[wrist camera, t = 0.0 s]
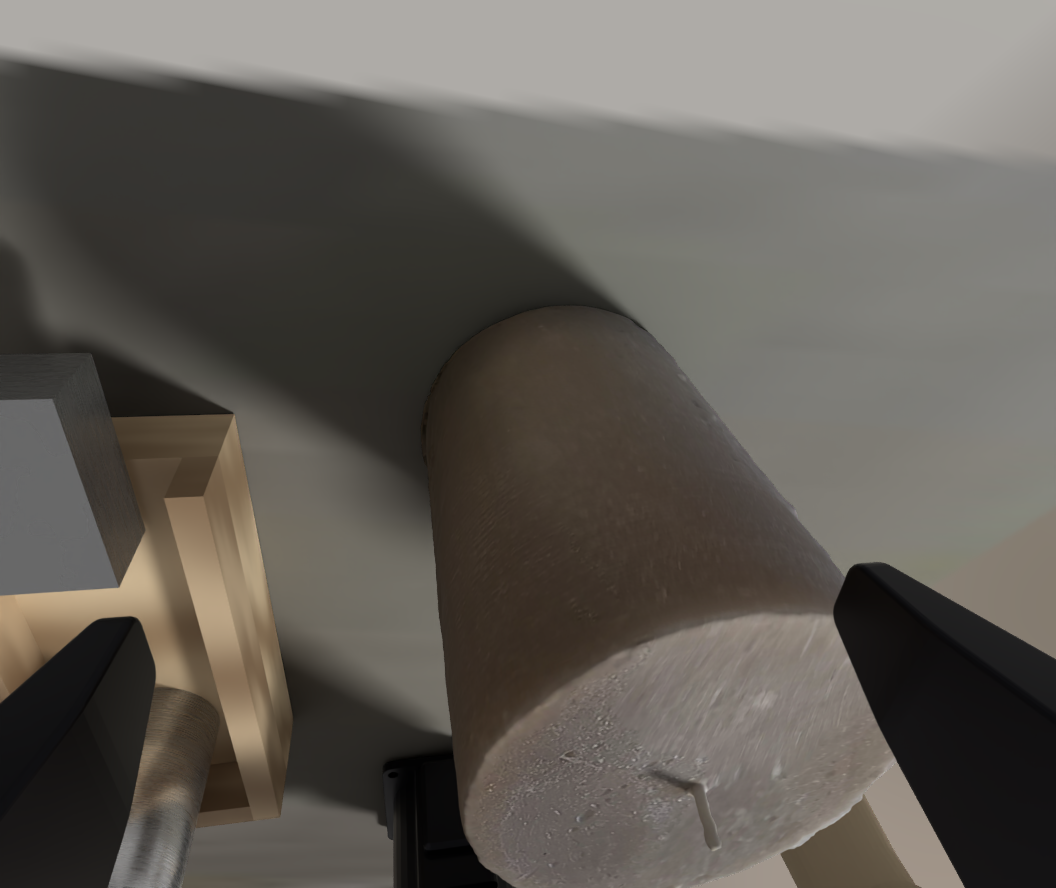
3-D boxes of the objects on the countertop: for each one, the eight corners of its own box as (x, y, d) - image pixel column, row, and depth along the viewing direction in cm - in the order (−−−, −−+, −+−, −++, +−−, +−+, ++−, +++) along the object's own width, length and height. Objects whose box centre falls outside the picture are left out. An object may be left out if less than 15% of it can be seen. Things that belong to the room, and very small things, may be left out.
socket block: (293, 719, 31) (280, 817, 27) (101, 738, 30) (59, 845, 26) (234, 414, 22) (203, 496, 19) (-40, 421, 21) (-133, 512, 17)
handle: (641, 654, 33) (793, 1055, 20) (682, 552, 29) (896, 956, 17) (731, 655, 34) (927, 1034, 21) (781, 557, 31) (1047, 937, 18)
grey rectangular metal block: (145, 530, 21) (118, 587, 19) (38, 535, 21) (-2, 596, 19) (91, 352, 18) (52, 399, 16) (-38, 354, 17) (-96, 402, 15)
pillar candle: (373, 478, 25) (365, 961, 12) (513, 244, 21) (699, 608, 9) (587, 557, 29) (739, 979, 17) (736, 373, 25) (1078, 746, 13)
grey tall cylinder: (228, 747, 28) (167, 1024, 20) (120, 759, 27) (16, 1050, 19) (209, 682, 25) (134, 965, 18) (91, 693, 25) (-38, 992, 17)
